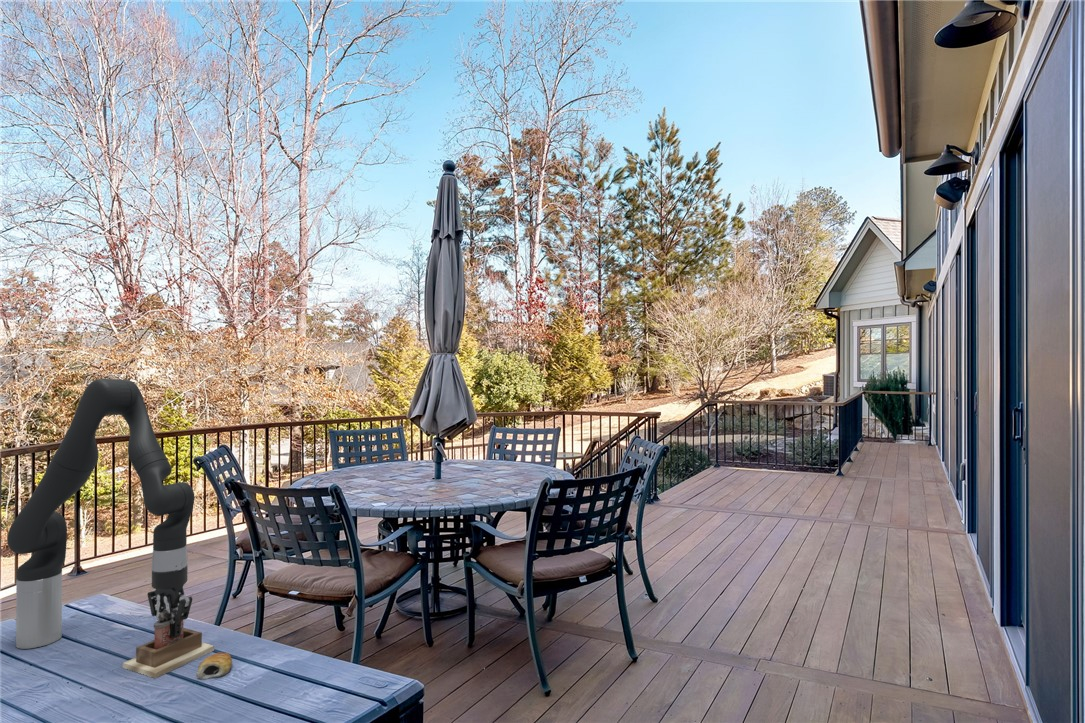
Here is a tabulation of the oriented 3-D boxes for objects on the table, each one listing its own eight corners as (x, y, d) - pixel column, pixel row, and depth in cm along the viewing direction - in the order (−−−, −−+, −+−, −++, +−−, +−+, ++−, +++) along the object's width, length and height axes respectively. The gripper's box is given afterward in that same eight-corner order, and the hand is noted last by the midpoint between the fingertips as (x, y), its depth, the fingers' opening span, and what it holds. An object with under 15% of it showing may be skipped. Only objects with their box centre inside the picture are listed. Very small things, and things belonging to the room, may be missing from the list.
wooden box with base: (122, 667, 144) (122, 648, 144) (182, 641, 158) (182, 623, 158) (155, 678, 139) (155, 657, 139) (214, 650, 153) (214, 631, 153)
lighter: (161, 657, 144) (161, 614, 144) (149, 655, 145) (149, 613, 145) (187, 642, 152) (188, 602, 152) (176, 640, 153) (176, 601, 153)
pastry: (207, 662, 147) (207, 646, 147) (237, 659, 149) (237, 643, 149) (195, 681, 138) (195, 664, 138) (227, 678, 140) (227, 661, 140)
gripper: (136, 566, 148) (135, 636, 148) (174, 574, 142) (173, 647, 142) (165, 557, 155) (165, 624, 155) (203, 564, 149) (203, 634, 149)
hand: (169, 635), depth 148 cm, fingers closed on lighter, 3 cm apart
